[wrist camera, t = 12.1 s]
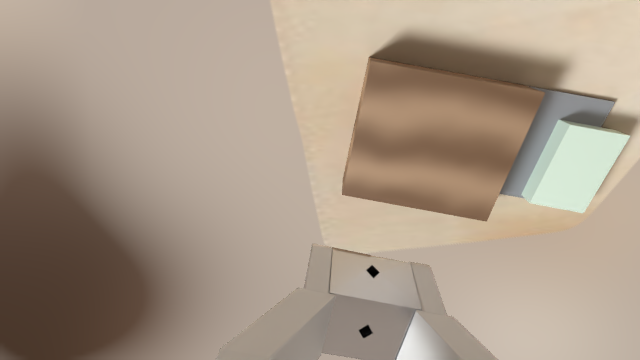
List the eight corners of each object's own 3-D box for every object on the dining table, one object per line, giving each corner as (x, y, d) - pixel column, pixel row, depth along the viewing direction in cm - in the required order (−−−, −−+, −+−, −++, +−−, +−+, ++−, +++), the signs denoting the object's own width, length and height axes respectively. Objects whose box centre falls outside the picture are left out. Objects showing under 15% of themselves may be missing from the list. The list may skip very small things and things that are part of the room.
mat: (529, 86, 33) (531, 86, 33) (612, 101, 33) (615, 101, 33) (484, 189, 38) (485, 191, 38) (556, 202, 38) (558, 204, 38)
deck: (369, 57, 33) (371, 61, 30) (524, 85, 33) (545, 92, 30) (342, 179, 39) (342, 194, 36) (474, 203, 39) (486, 221, 36)
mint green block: (630, 136, 32) (615, 130, 34) (570, 124, 32) (558, 119, 34) (583, 213, 36) (572, 204, 38) (529, 203, 36) (521, 194, 38)
